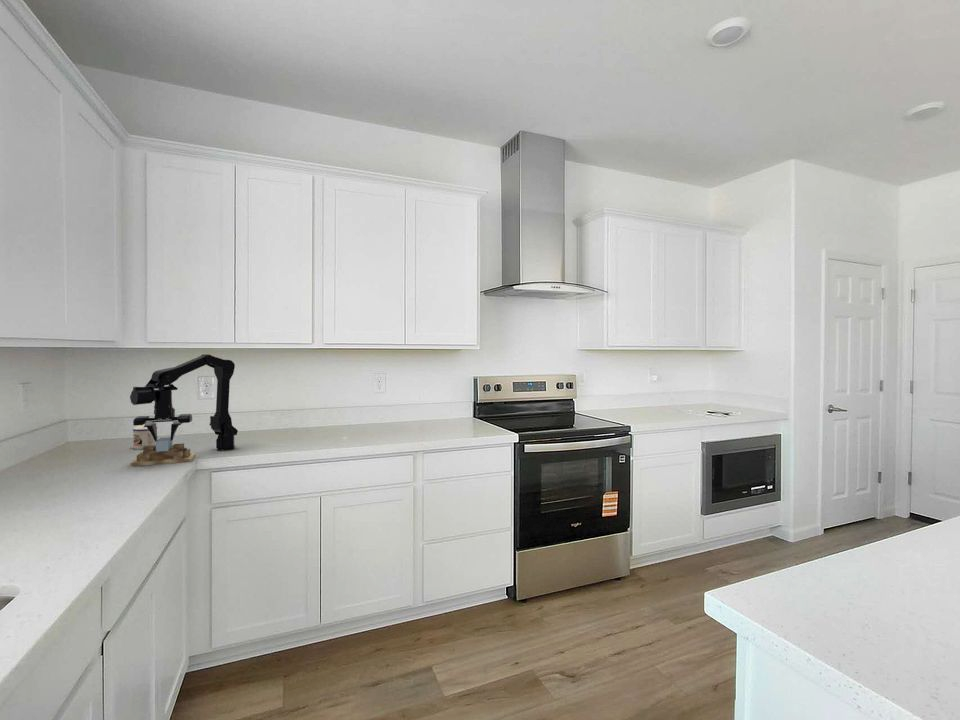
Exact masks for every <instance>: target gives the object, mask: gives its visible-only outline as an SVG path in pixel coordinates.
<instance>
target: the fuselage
mask: <svg viewBox="0 0 960 720" xmlns="http://www.w3.org/2000/svg"><path fill="white" fill-rule="evenodd" d="M184 448H185V442H183V443H174V444H173V446H172V448H171V449H170V450H169V451H160V452H156V445H151V446H145V447H144V448H143V449H142V452H143V454H150V460H160V459H173V458H174V452H179V451H183V456H184Z"/></svg>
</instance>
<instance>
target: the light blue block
mask: <svg viewBox="0 0 960 720" xmlns="http://www.w3.org/2000/svg"><path fill="white" fill-rule="evenodd" d="M173 440H174V439H173ZM173 440H172V441H171V436H169V437H160V438H159V439H157V441H156V452H160V451H169V450H170V449H171V448H172V446H173V445H174V444H173V443H174V442H173Z"/></svg>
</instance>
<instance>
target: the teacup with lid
mask: <svg viewBox="0 0 960 720" xmlns="http://www.w3.org/2000/svg"><path fill="white" fill-rule="evenodd" d="M144 425H145V424H143V425H136V426H133V428H132V434H133V435H132V437H133V449H134V450H143V448H144V447H145V446H151V445H156V442H155V440H154V438H153V436H152V434H151V433H150V431H149V430H148V428H147V427H144ZM156 431H157V432H158V426H157V425H156Z"/></svg>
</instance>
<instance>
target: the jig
mask: <svg viewBox="0 0 960 720" xmlns="http://www.w3.org/2000/svg"><path fill="white" fill-rule="evenodd" d="M196 455H197V454H196V453H191V448H188V447H184V456H183V451H179V452H174V458H173V459H160V460H150V454H143V451H141V452H140V453H138V454H137V455H136V458H135V459H134V460H132V461H131V462H130V463H129V464H130V467H138V466H139V467H140V466H149V465H150V466H152V465H165V464H174V463H175V464H176V463H188V462H191V463H192V461H194V459H195V458H196Z"/></svg>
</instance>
